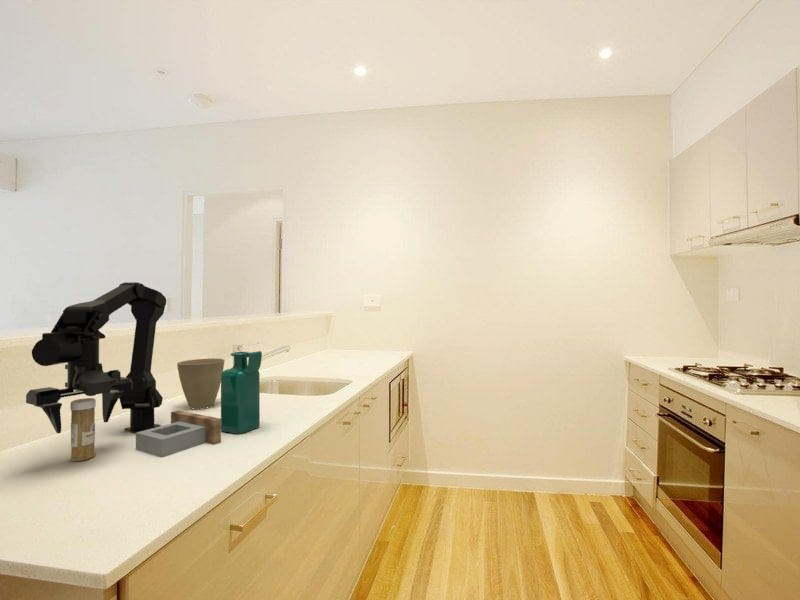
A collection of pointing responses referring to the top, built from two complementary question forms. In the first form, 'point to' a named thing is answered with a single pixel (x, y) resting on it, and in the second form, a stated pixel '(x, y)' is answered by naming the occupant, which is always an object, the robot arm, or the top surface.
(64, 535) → the top surface
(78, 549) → the top surface
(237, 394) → the pitcher
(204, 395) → the plant pot
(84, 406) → the sprinkles bottle
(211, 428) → the walnut wall
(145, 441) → the holder block
